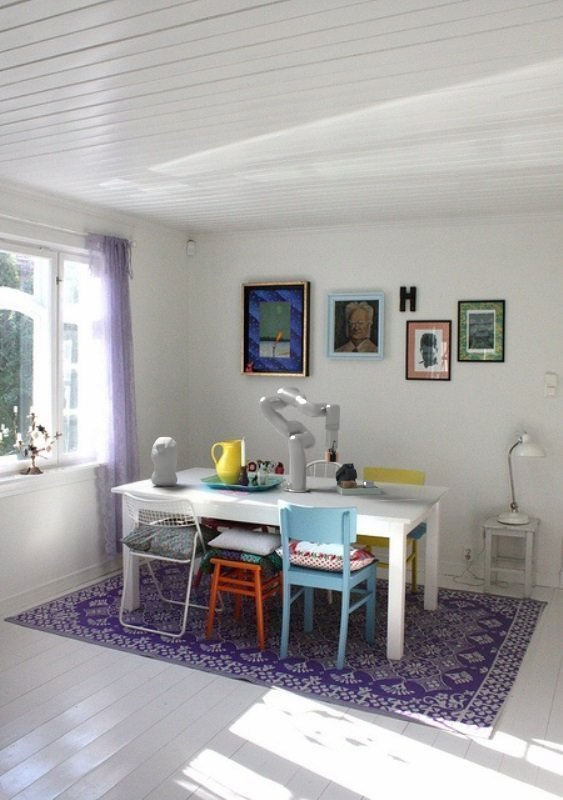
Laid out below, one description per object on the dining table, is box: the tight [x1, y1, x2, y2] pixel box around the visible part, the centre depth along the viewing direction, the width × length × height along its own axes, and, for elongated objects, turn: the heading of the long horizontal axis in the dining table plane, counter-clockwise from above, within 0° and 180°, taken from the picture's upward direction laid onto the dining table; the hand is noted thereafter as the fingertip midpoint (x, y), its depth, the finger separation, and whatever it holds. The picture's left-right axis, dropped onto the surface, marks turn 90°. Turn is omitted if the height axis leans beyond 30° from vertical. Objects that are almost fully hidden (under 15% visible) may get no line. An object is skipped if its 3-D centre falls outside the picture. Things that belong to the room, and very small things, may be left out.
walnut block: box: [341, 481, 358, 489], centre depth 405 cm, size 7×7×6 cm
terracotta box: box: [324, 451, 340, 463], centre depth 399 cm, size 6×5×5 cm
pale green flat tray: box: [335, 484, 382, 496], centre depth 406 cm, size 22×12×4 cm, turn 100°
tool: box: [334, 462, 358, 485], centre depth 424 cm, size 6×19×15 cm, turn 22°
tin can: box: [362, 480, 375, 488], centre depth 407 cm, size 6×6×6 cm
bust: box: [150, 436, 179, 487], centre depth 420 cm, size 15×26×28 cm, turn 177°
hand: (331, 460), depth 399 cm, fingers closed on terracotta box, 4 cm apart
